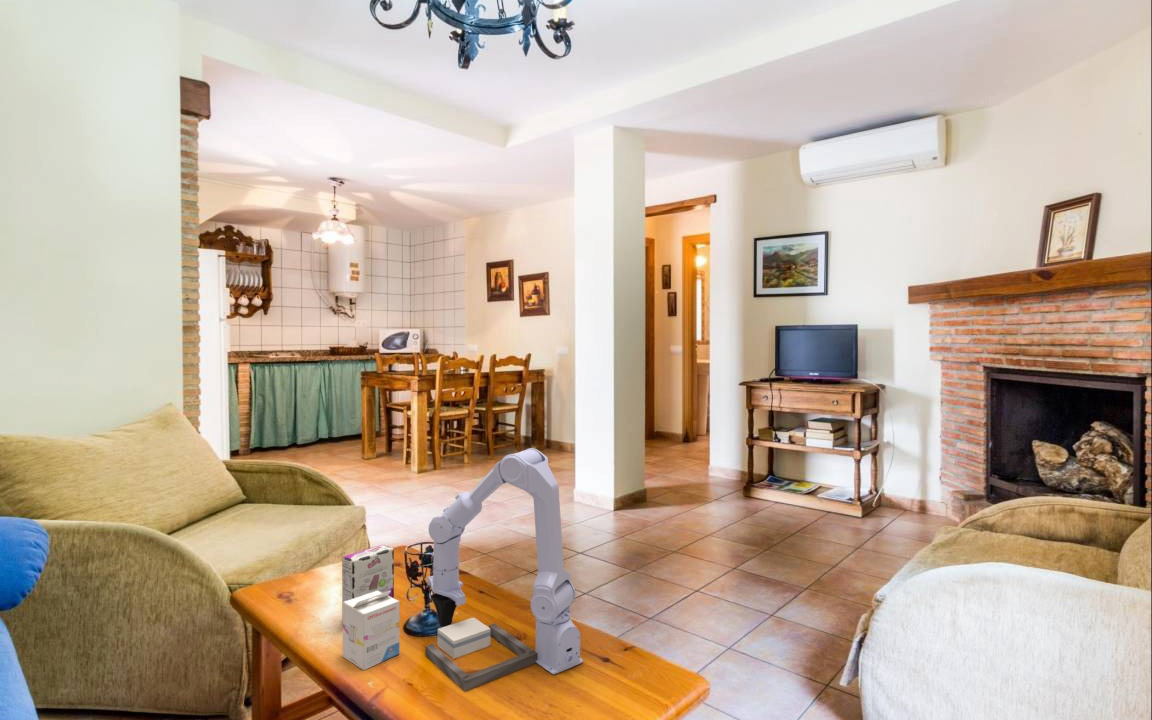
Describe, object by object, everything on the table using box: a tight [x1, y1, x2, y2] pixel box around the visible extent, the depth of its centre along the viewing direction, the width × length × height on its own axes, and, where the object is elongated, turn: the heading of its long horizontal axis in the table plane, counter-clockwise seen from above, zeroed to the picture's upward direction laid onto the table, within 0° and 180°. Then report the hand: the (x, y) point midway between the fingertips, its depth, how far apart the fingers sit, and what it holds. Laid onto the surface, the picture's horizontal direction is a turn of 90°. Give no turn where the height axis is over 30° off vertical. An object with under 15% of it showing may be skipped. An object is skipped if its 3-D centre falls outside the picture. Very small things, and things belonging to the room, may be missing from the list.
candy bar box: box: [341, 544, 395, 624], centre depth 143 cm, size 11×5×16 cm, turn 143°
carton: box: [436, 617, 492, 660], centre depth 132 cm, size 7×9×4 cm
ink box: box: [342, 590, 401, 671], centre depth 127 cm, size 9×8×13 cm
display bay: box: [424, 623, 538, 692], centre depth 127 cm, size 17×17×2 cm
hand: (445, 625), depth 139 cm, fingers closed
